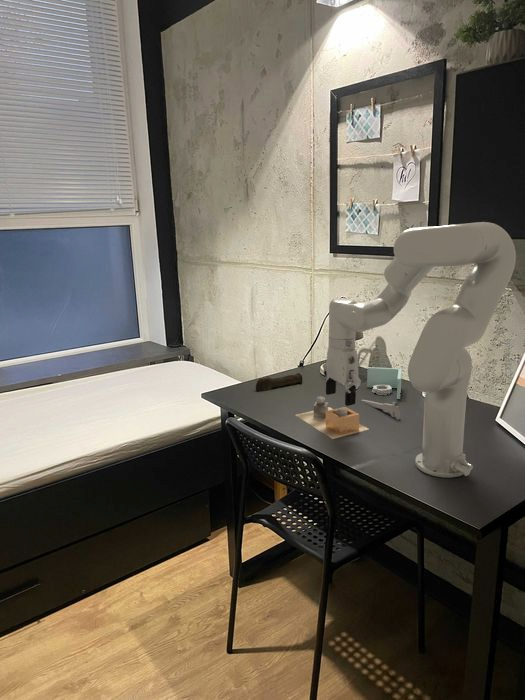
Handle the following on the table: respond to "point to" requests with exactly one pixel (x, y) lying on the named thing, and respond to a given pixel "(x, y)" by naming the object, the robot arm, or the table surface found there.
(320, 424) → the board
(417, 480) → the table surface
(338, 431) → the collar
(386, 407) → the caliper
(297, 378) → the hand tool
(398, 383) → the l-shaped corner panel
